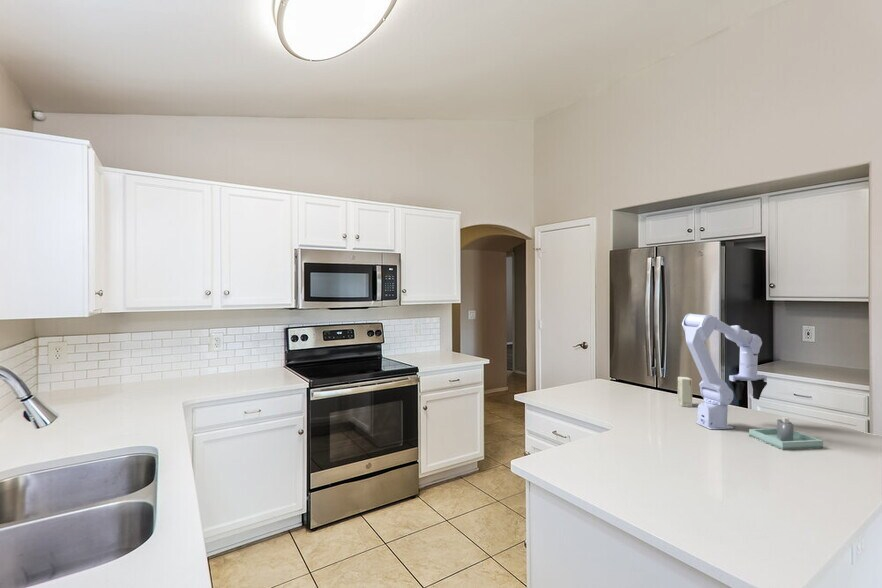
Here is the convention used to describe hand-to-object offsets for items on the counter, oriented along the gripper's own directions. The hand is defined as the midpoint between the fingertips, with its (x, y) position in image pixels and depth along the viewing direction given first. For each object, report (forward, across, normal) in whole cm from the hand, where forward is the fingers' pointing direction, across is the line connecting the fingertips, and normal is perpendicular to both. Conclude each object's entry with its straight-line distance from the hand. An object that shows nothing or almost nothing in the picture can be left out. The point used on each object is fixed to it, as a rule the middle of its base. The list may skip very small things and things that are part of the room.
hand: (747, 399), depth 170 cm
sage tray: (+9, +4, +20) cm, 22 cm away
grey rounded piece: (+9, +4, +20) cm, 22 cm away
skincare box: (+10, +7, -26) cm, 29 cm away
